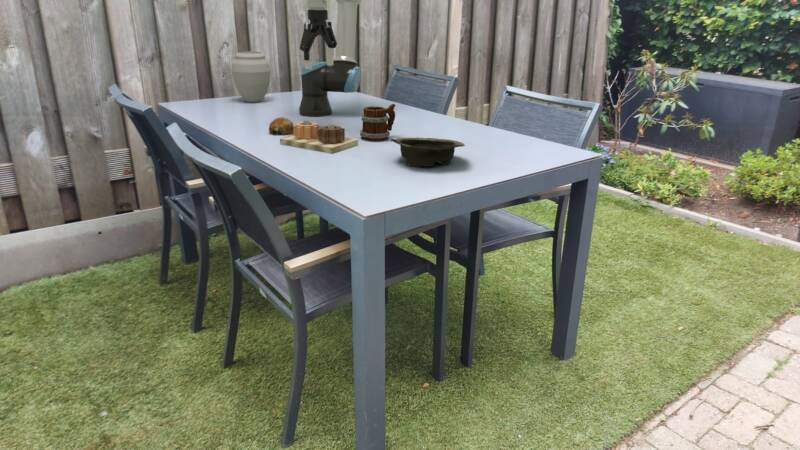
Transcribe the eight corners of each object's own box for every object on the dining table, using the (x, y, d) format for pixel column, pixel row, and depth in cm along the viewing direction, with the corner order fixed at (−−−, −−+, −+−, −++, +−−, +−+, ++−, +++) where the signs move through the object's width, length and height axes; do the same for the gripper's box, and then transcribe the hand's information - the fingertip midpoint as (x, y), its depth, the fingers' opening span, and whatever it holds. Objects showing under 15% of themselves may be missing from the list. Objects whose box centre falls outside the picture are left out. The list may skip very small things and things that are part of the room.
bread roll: (296, 142, 227) (302, 123, 227) (276, 135, 219) (283, 115, 219) (281, 138, 234) (287, 119, 233) (261, 131, 226) (267, 111, 225)
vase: (227, 103, 284) (222, 53, 275) (243, 97, 302) (239, 50, 293) (264, 105, 281) (260, 54, 272) (278, 99, 299) (275, 51, 290)
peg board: (280, 143, 209) (278, 122, 206) (307, 136, 222) (306, 115, 219) (332, 153, 198) (331, 131, 195) (357, 144, 211) (357, 123, 208)
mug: (352, 136, 223) (357, 98, 218) (382, 138, 231) (388, 101, 227) (366, 142, 214) (373, 102, 209) (397, 144, 222) (404, 106, 218)
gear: (308, 141, 206) (308, 127, 204) (288, 137, 211) (287, 124, 209) (324, 136, 214) (324, 123, 212) (305, 133, 218) (304, 120, 216)
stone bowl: (410, 174, 177) (410, 145, 174) (381, 160, 198) (380, 133, 196) (478, 166, 186) (479, 138, 183) (443, 153, 208) (443, 128, 205)
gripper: (304, 10, 200) (306, 71, 209) (345, 8, 220) (346, 64, 228) (287, 9, 204) (291, 69, 212) (329, 7, 223) (331, 62, 232)
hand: (319, 67), depth 220 cm, fingers open, 13 cm apart
